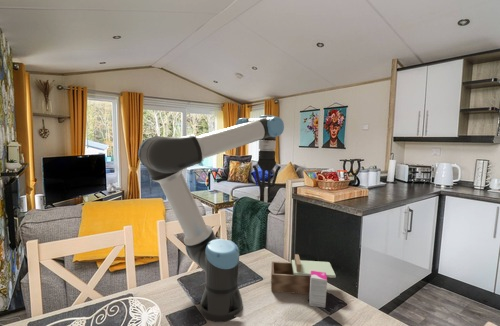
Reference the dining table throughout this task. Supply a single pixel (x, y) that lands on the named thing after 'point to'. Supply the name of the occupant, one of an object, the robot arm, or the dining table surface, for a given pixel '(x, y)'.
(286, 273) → the box
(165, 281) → the dining table surface
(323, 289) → the supplement box
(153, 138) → the robot arm
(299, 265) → the lid
